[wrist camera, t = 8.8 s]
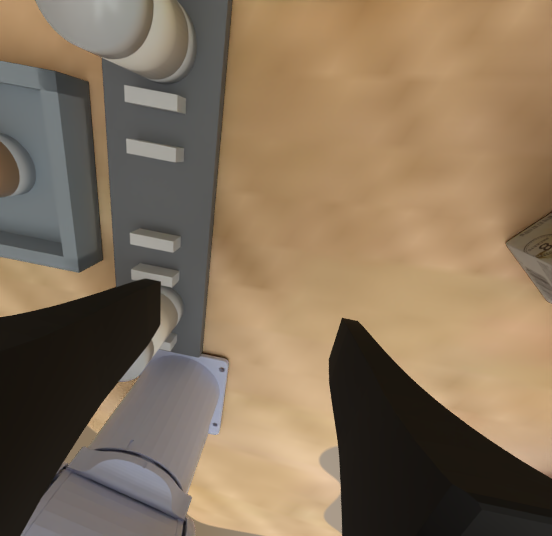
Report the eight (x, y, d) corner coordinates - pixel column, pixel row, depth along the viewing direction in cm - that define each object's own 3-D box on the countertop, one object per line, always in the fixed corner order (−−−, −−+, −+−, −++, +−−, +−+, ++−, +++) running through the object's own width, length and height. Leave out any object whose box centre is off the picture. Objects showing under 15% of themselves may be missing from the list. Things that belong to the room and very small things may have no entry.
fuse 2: (183, 330, 23) (144, 387, 17) (135, 320, 23) (81, 374, 17) (185, 287, 21) (143, 335, 16) (134, 277, 21) (74, 321, 16)
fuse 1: (195, 90, 16) (138, 57, 11) (127, 78, 16) (36, 40, 11) (198, 1, 14) (134, -91, 9) (124, -12, 15) (15, -110, 9)
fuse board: (202, 351, 24) (194, 367, 23) (125, 335, 25) (110, 350, 23) (236, -49, 14) (226, -78, 12) (103, -72, 14) (74, -105, 13)
